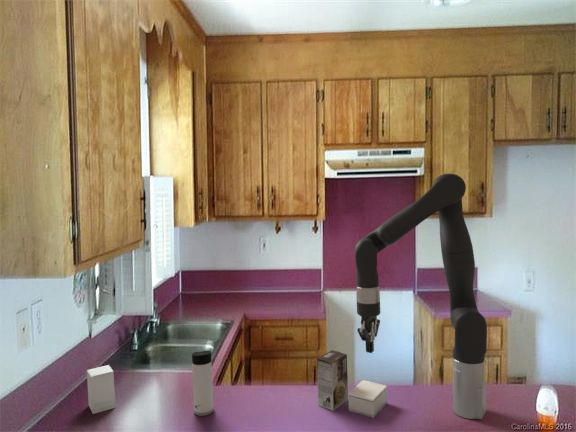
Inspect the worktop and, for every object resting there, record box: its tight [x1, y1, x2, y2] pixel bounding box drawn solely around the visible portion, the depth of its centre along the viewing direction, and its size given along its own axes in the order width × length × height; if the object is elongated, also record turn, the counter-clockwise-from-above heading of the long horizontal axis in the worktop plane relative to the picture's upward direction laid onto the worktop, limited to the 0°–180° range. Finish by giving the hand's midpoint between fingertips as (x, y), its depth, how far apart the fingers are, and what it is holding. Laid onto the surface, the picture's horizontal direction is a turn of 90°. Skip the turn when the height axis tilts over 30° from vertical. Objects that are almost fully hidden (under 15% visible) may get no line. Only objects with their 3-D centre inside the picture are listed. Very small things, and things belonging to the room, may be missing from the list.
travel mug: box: [191, 350, 214, 417], centre depth 143 cm, size 6×7×20 cm
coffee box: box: [316, 349, 349, 412], centre depth 147 cm, size 9×6×16 cm
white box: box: [348, 388, 388, 419], centre depth 144 cm, size 8×11×5 cm
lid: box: [348, 379, 388, 401], centre depth 143 cm, size 8×11×1 cm
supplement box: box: [86, 364, 116, 415], centre depth 149 cm, size 7×7×13 cm
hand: (370, 351), depth 144 cm, fingers closed
